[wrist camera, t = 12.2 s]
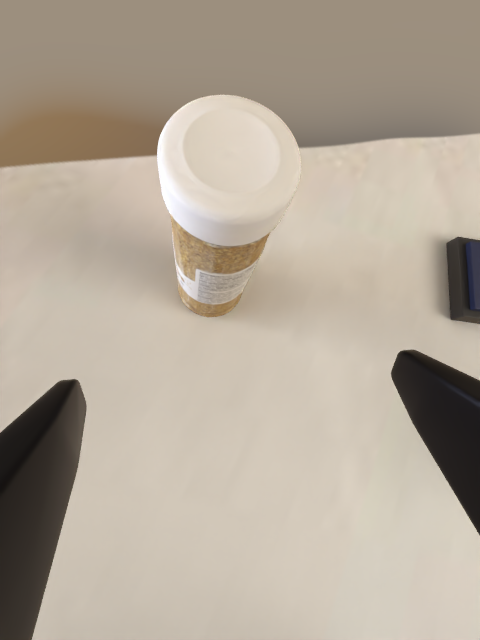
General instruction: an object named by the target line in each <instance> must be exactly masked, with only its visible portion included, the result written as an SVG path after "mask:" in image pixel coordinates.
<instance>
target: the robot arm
mask: <svg viewBox="0 0 480 640" xmlns="http://www.w3.org/2000/svg"><path fill="white" fill-rule="evenodd" d="M391 376H392V380H393V382H394V384H395V386H396V388H397V391H398V393H399V395H400V397H401V399H402V401H403V403H404V405H405V408H406V410H407V412H408V414H409V416H410V418H411V420H412V422H413V424H414V426H415V428H416V429H417V431H418V433H419V434H420V436H421V438H422V440H423V441H424V443H425V445H426V446H427V448H428V450H429V451H430V453H431V455H432V456H433V458H434V460H435V461H436V463H437V465H438V466H439V468H440V470H441V471H442V473H443V475H444V476H445V478H446V480H447V481H448V483H449V485H450V486H451V488H452V490H453V491H454V493H455V495H456V496H457V498H458V500H459V501H460V503H461V505H462V506H463V508H464V510H465V511H466V513H467V515H468V516H469V518H470V520H471V522H472V523H473V525H474V527H475V528H476V530H477V532H478V533H479V535H480V381H479V380H477V379H475V378H473V377H471V376H469V375H467V374H465V373H463V372H460V371H458V370H456V369H454V368H452V367H450V366H448V365H446V364H444V363H441V362H439V361H437V360H435V359H433V358H431V357H429V356H427V355H425V354H423V353H420V352H418V351H416V350H403V351H400V352H399V353H398V355H397V358H396V361H395V363H394V366H393V368H392V371H391ZM85 416H86V401H85V398H84V395H83V392H82V389H81V386H80V383H79V381H78V380H76V379H72V380H62V381H59V382H58V383H56V384H55V385H54V386H53V387H52V388H51V389H50V390H48V391H47V392H46V393H45V394H44V395H43V396H42V397H40V398H39V399H38V400H37V401H36V402H35V403H34V404H33V405H31V406H30V407H29V408H28V409H27V410H26V411H25V412H23V413H22V414H21V415H20V416H19V417H18V418H17V419H15V420H14V421H13V422H12V423H11V424H10V425H9V426H7V427H6V428H5V429H4V430H3V431H2V432H1V433H0V640H32V636H33V633H34V629H35V625H36V621H37V618H38V614H39V610H40V607H41V603H42V599H43V595H44V592H45V588H46V584H47V581H48V577H49V573H50V569H51V566H52V562H53V558H54V554H55V551H56V547H57V543H58V540H59V536H60V532H61V528H62V525H63V521H64V517H65V514H66V510H67V506H68V502H69V499H70V495H71V491H72V488H73V484H74V480H75V476H76V472H77V468H78V463H79V457H80V450H81V443H82V436H83V429H84V422H85Z"/></svg>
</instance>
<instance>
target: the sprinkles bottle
mask: <svg viewBox="0 0 480 640" xmlns="http://www.w3.org/2000/svg"><path fill="white" fill-rule="evenodd" d="M157 160H158V169H159V177H160V183H161V190H162V194H163V198H164V201H165V204H166V206H167V208H168V211H169V212H170V215H171V222H172V232H173V249H174V256H175V263H176V271H177V277H178V290H179V294H180V297H181V299H182V301H183V303H184V304H185V305H186V306H187V307H188V308H189V309H190V310H192V311H193V312H195V313H197V314H199V315H202V316H206V317H217V316H220V315H224V314H226V313H228V312H229V311H231V310H232V309H233V308H234V307H235V306H236V304H237V303H238V301H239V300H240V298H241V294H242V291H243V289H244V288H245V286H246V284H247V282H248V280H249V278H250V276H251V274H252V272H253V270H254V268H255V266H256V264H257V262H258V260H259V258H260V256H261V254H262V252H263V250H264V247H265V243H266V241H267V238H268V236H269V234H270V232H271V231H272V230H273V229H274V228H275V227H276V226H277V225H278V224H279V222H280V221H281V219H282V218H283V216H284V214H285V212H286V210H287V208H288V206H289V205H290V203H291V200H292V198H293V196H294V194H295V191H296V189H297V186H298V183H299V180H300V175H301V158H300V153H299V149H298V145H297V143H296V140H295V138H294V136H293V134H292V133H291V131H290V130H289V128H288V127H287V126H286V124H285V123H284V122H283V121H282V120H281V119H280V118H279V117H278V116H277V115H275V113H273V112H272V111H271V110H270V109H268V108H266V107H265V106H263V105H261V104H259V103H257V102H255V101H252V100H250V99H246V98H243V97H239V96H233V95H213V96H207V97H202V98H199V99H196V100H194V101H192V102H190V103H188V104H186V105H184V106H183V107H182V108H180V109H179V110H178V111H176V112H175V113H174V115H173V116H172V117H171V118H170V119H169V120H168V122H167V124H166V125H165V127H164V129H163V131H162V133H161V136H160V139H159V143H158V152H157Z"/></svg>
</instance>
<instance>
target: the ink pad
mask: <svg viewBox="0 0 480 640" xmlns="http://www.w3.org/2000/svg"><path fill="white" fill-rule="evenodd" d="M447 257H448V275H449V292H450V310H451V319H452V320H458V321H465V322H473V323H480V240H474V239H468V238H462V237H457V238H455V239H453V240H451V241H450V242H448V243H447Z"/></svg>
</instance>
